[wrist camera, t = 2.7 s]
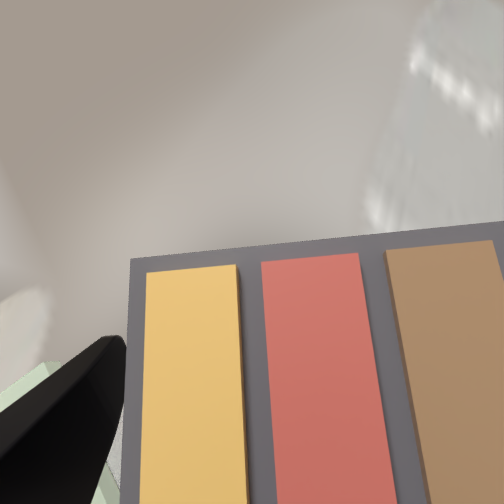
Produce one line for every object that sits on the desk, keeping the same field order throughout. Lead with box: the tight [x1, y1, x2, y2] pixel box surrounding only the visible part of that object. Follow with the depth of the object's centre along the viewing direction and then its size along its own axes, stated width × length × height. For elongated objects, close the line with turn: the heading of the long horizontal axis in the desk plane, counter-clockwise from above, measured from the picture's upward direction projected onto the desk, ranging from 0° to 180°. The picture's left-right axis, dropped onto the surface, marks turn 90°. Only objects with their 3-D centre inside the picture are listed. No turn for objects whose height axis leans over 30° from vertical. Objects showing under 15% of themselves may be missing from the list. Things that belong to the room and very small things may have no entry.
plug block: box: [119, 221, 504, 504], centre depth 9 cm, size 4×4×11 cm
